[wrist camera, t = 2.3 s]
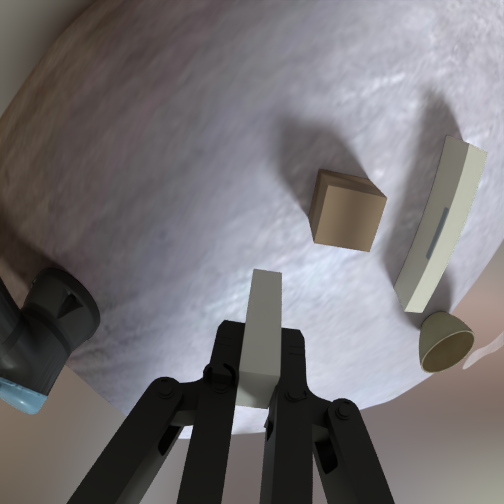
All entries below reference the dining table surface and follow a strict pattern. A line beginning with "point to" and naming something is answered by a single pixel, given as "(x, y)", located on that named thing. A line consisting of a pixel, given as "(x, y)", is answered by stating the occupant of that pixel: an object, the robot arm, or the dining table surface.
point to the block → (345, 211)
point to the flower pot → (443, 342)
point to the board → (440, 223)
